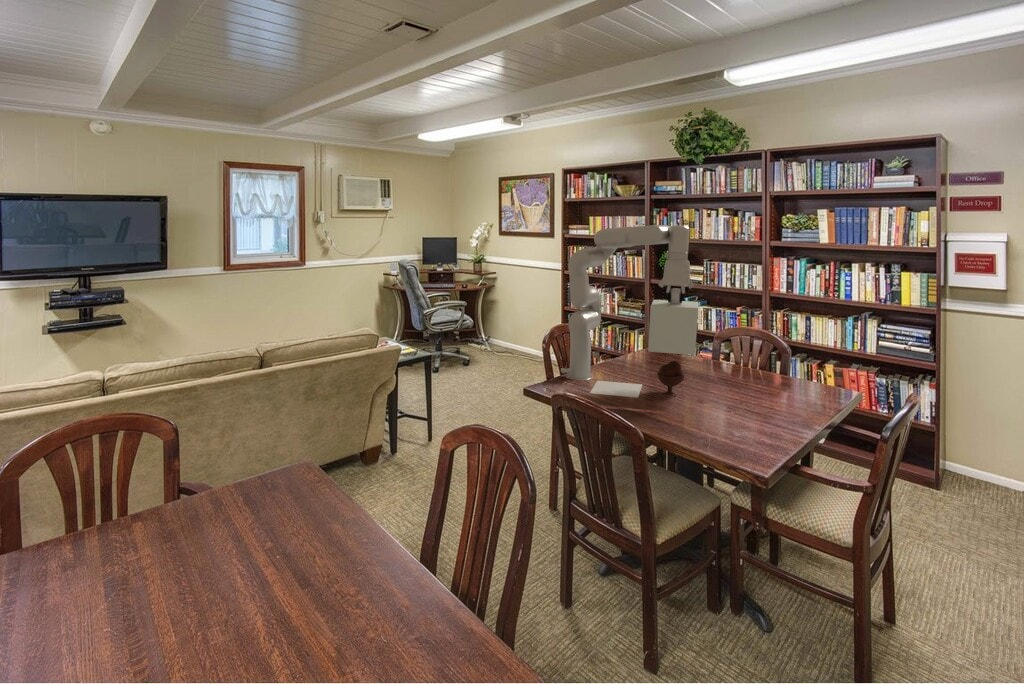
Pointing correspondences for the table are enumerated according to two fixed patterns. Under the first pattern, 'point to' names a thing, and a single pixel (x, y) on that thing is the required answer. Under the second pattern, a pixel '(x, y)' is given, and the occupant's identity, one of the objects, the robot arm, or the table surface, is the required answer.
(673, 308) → the cover
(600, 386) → the mat
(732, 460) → the table surface
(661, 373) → the ice cream bowl
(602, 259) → the robot arm
